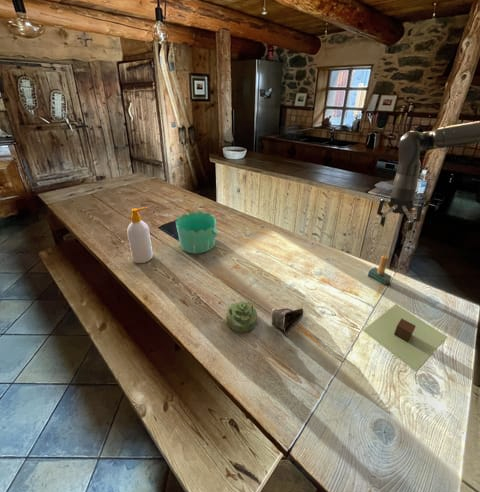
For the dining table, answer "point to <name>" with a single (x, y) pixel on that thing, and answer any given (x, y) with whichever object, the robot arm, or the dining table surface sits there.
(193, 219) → the basket
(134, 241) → the soap bottle
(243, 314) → the decorative artifact
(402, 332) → the brown cube
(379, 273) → the brush
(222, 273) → the dining table surface
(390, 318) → the mat
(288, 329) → the dark flower pot
